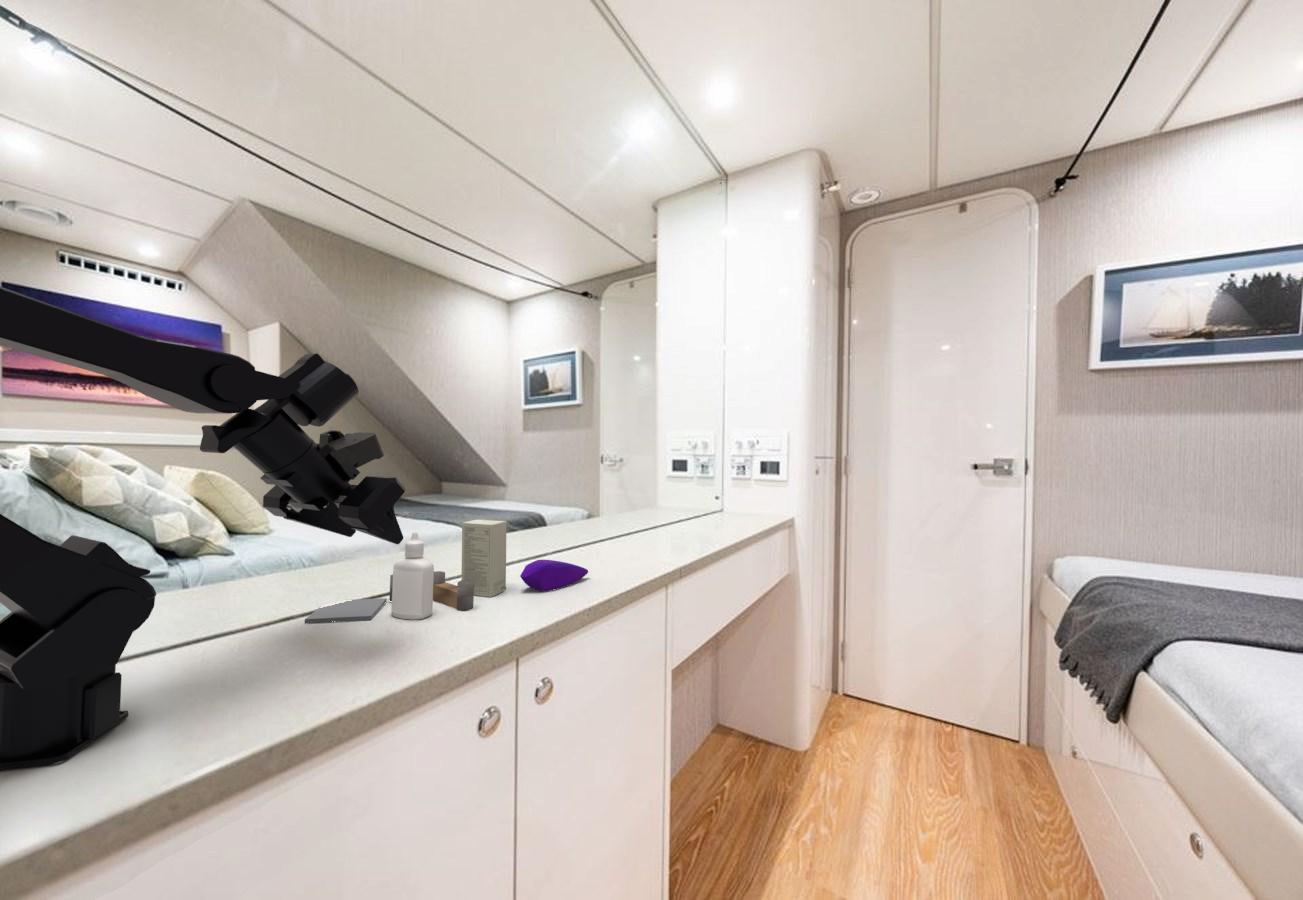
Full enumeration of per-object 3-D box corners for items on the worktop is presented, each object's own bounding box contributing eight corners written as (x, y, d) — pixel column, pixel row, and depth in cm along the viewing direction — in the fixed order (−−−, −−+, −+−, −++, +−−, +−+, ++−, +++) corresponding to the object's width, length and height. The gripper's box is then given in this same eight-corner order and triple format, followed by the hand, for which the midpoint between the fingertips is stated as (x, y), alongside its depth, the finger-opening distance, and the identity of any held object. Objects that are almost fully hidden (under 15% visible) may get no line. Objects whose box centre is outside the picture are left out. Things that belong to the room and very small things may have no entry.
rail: (377, 615, 67) (378, 587, 67) (392, 597, 75) (393, 572, 75) (472, 610, 71) (473, 583, 71) (477, 593, 79) (478, 570, 79)
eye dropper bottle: (402, 624, 64) (406, 537, 64) (388, 614, 68) (391, 531, 68) (435, 617, 67) (438, 534, 67) (419, 607, 71) (422, 528, 71)
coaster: (304, 623, 63) (304, 619, 63) (327, 604, 71) (327, 600, 71) (370, 620, 65) (371, 615, 65) (386, 602, 73) (386, 598, 73)
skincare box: (506, 590, 81) (509, 520, 81) (490, 598, 77) (493, 524, 77) (475, 586, 83) (477, 518, 83) (458, 593, 78) (461, 521, 79)
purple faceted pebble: (597, 561, 89) (530, 565, 78) (594, 587, 89) (526, 594, 78) (581, 556, 93) (514, 559, 82) (578, 581, 92) (511, 588, 81)
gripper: (393, 408, 54) (463, 496, 64) (293, 408, 61) (370, 488, 71) (319, 479, 46) (411, 566, 57) (215, 470, 54) (313, 549, 64)
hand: (376, 537), depth 62 cm, fingers open, 9 cm apart
